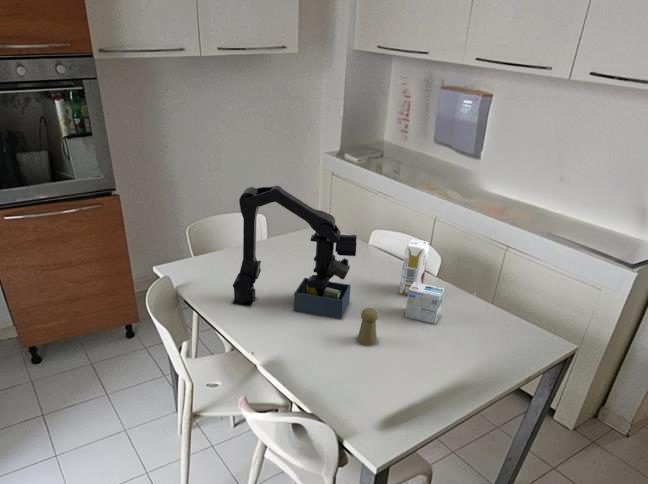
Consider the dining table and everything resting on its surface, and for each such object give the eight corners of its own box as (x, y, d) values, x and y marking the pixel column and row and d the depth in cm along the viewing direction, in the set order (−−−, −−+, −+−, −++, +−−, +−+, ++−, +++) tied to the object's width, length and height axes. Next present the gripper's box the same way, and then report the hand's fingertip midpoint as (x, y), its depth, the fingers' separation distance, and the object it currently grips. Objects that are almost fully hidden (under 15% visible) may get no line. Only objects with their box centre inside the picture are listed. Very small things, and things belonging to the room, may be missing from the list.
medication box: (340, 301, 180) (341, 290, 177) (336, 304, 178) (338, 293, 175) (308, 291, 184) (309, 281, 182) (305, 295, 182) (305, 284, 180)
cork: (364, 347, 162) (367, 317, 156) (353, 338, 166) (356, 308, 160) (380, 343, 164) (383, 312, 158) (369, 333, 169) (372, 303, 163)
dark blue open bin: (293, 311, 180) (294, 292, 176) (304, 295, 190) (304, 277, 186) (341, 319, 176) (342, 301, 172) (349, 302, 186) (350, 284, 182)
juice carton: (397, 294, 192) (404, 246, 182) (403, 284, 199) (409, 237, 188) (418, 298, 190) (426, 249, 179) (422, 288, 196) (430, 240, 186)
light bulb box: (439, 315, 180) (445, 287, 174) (435, 324, 175) (440, 296, 169) (409, 308, 183) (413, 280, 178) (404, 317, 178) (408, 288, 172)
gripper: (341, 268, 162) (338, 312, 171) (354, 246, 178) (351, 287, 186) (307, 263, 165) (305, 306, 173) (322, 241, 180) (320, 282, 189)
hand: (322, 295), depth 180 cm, fingers closed on medication box, 3 cm apart
